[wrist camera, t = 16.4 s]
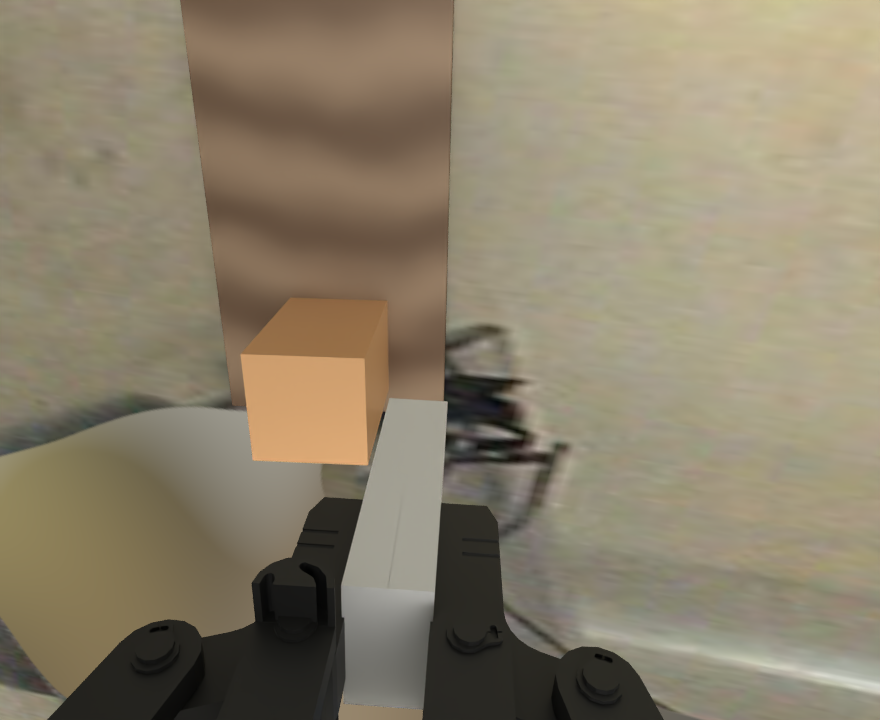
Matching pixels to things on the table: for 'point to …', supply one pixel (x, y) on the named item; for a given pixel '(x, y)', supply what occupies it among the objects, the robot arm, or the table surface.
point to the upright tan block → (318, 381)
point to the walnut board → (328, 166)
